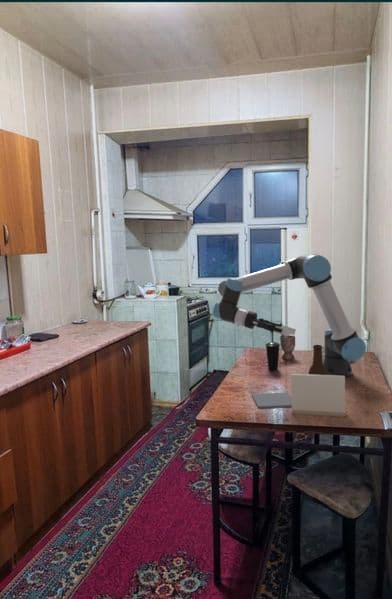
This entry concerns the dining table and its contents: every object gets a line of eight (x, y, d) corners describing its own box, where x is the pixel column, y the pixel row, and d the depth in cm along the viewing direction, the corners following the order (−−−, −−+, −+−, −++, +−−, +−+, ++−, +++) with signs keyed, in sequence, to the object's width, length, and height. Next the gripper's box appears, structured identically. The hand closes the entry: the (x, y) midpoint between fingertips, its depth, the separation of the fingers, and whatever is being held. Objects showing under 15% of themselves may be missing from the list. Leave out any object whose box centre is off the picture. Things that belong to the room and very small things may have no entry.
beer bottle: (306, 398, 196) (306, 343, 193) (324, 398, 195) (324, 343, 193) (310, 404, 188) (310, 347, 185) (329, 404, 188) (329, 347, 185)
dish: (350, 354, 271) (350, 346, 270) (355, 364, 249) (355, 355, 249) (311, 354, 275) (311, 346, 275) (313, 363, 254) (313, 354, 253)
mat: (287, 394, 202) (287, 392, 202) (297, 406, 186) (297, 404, 186) (251, 395, 201) (251, 393, 201) (258, 408, 186) (258, 406, 186)
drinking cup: (280, 371, 238) (279, 334, 236) (265, 371, 240) (264, 333, 238) (280, 367, 246) (280, 331, 244) (266, 367, 247) (265, 331, 245)
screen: (344, 411, 179) (344, 374, 178) (345, 416, 174) (345, 378, 172) (292, 408, 184) (291, 372, 183) (291, 413, 179) (291, 376, 177)
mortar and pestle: (274, 359, 264) (273, 325, 262) (276, 356, 272) (276, 323, 270) (294, 360, 260) (294, 326, 258) (296, 357, 268) (296, 323, 266)
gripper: (251, 326, 216) (294, 339, 208) (236, 327, 193) (285, 342, 185) (255, 310, 215) (299, 323, 208) (241, 310, 192) (290, 325, 185)
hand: (292, 332), depth 196 cm, fingers open, 13 cm apart
